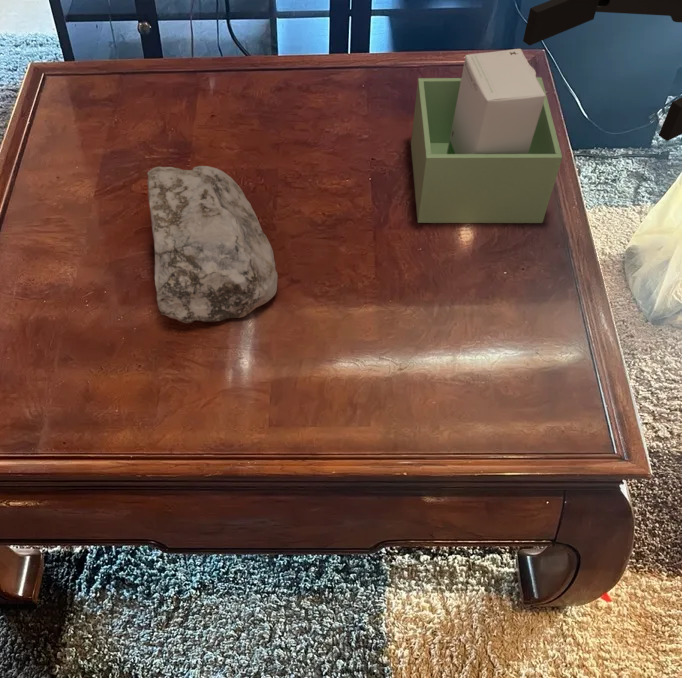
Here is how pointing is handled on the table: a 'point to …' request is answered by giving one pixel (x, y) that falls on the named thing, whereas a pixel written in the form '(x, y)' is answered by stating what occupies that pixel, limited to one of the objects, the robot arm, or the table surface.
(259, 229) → the decorative stone
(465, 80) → the cosmetic box
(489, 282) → the table surface
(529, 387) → the table surface
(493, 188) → the bin
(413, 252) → the table surface
